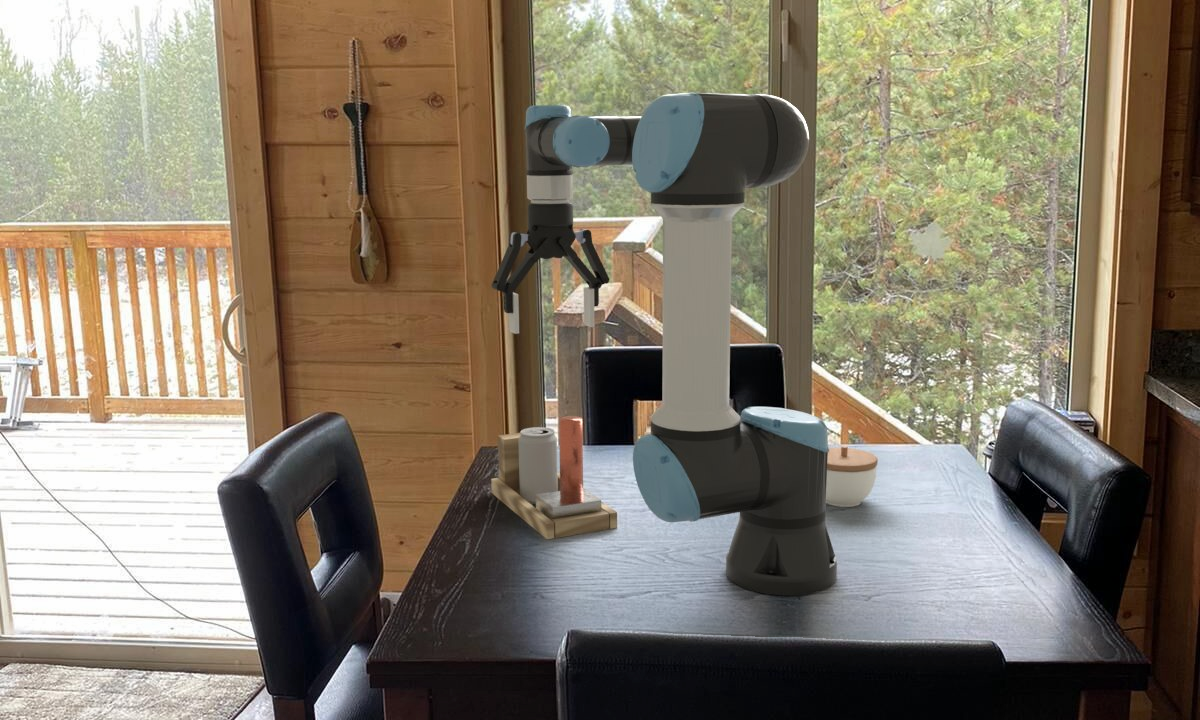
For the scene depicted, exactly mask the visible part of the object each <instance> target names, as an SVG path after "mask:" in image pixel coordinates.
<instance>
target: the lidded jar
mask: <svg viewBox="0 0 1200 720" xmlns="http://www.w3.org/2000/svg"><path fill="white" fill-rule="evenodd" d="M828 449H829V453H828V458H827V484H826V505H829V506H832V507H839V508H851V507H852V508H853V507H857V506H860V505H861V504H862V502H863V501H864V500H865V499H866V498H867V497H869V495H870V494H871V492H872V490H873V489H874V485H875V482H876V478H877V465H878V461H879V460H878V458H877V455H875V454H874V453H872V452H870V451H866V450H863V449H856V448H850V447H848V446H847V445H841V447H828Z"/></svg>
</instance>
